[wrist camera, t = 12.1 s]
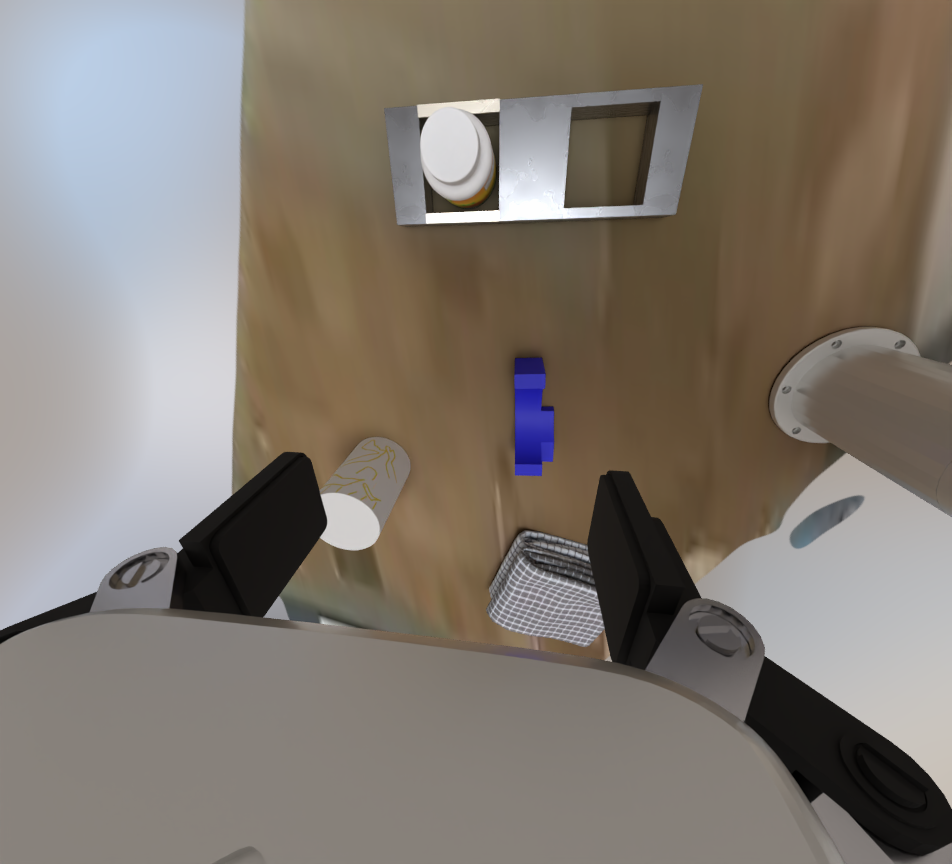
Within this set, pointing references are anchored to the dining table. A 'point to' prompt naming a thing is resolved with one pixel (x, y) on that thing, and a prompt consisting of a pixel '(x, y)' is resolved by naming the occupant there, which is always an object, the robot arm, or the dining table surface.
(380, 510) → the cup
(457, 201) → the supplement bottle
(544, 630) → the towel
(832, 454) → the dining table surface
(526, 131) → the metal bottle holder tray
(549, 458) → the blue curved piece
